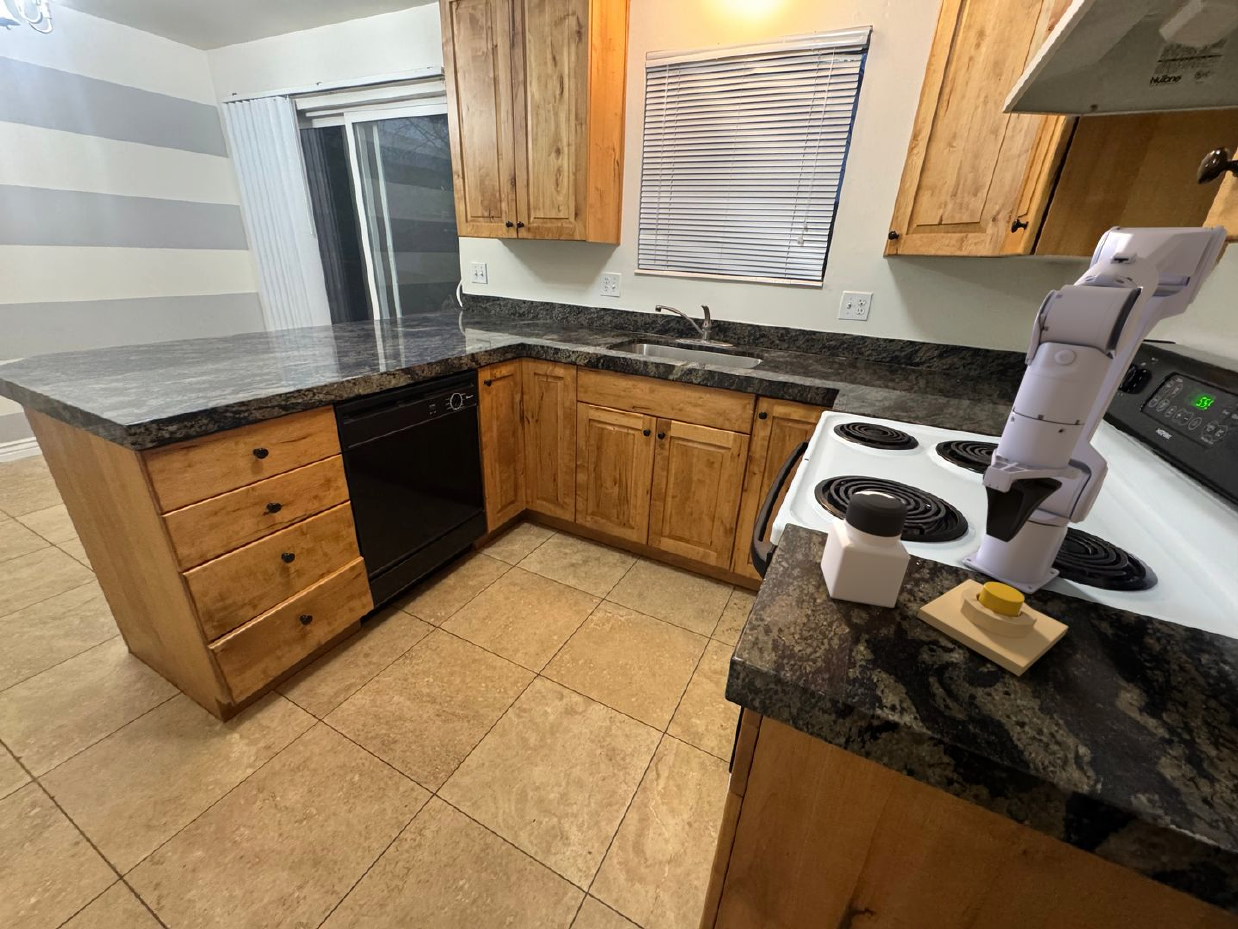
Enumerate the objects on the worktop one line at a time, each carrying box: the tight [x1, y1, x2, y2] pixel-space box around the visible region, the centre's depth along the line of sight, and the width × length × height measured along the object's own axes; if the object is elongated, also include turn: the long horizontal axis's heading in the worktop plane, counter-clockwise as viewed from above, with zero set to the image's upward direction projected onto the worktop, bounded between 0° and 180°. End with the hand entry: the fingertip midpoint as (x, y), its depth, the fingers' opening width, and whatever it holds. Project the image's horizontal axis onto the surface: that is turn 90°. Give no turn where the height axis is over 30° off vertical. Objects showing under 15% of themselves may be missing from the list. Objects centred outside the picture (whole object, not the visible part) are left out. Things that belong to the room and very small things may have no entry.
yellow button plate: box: [916, 578, 1069, 677], centre depth 55 cm, size 12×10×3 cm
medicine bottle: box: [820, 490, 912, 609], centre depth 58 cm, size 7×7×12 cm
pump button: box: [978, 581, 1026, 617], centre depth 54 cm, size 4×4×2 cm
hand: (998, 536), depth 54 cm, fingers closed
